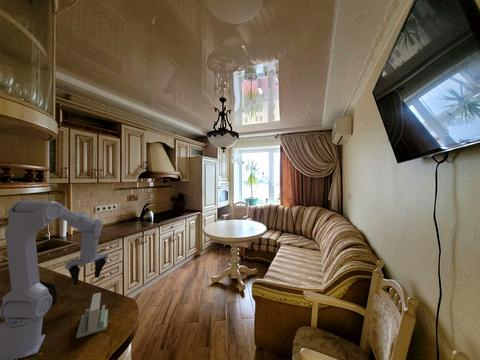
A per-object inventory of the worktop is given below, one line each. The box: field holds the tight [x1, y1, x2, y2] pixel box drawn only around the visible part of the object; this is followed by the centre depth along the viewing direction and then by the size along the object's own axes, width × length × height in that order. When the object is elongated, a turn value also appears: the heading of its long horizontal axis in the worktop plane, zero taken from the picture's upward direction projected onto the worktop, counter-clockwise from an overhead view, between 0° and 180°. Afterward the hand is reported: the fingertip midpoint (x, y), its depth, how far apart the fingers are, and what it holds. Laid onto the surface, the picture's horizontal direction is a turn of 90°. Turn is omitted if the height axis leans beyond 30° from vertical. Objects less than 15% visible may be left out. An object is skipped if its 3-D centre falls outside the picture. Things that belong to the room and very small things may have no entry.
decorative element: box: [39, 279, 58, 306], centre depth 83 cm, size 22×5×6 cm, turn 60°
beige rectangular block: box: [88, 292, 102, 333], centre depth 68 cm, size 12×2×7 cm, turn 33°
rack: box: [76, 304, 109, 339], centre depth 68 cm, size 8×11×3 cm
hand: (86, 280), depth 80 cm, fingers open, 7 cm apart
